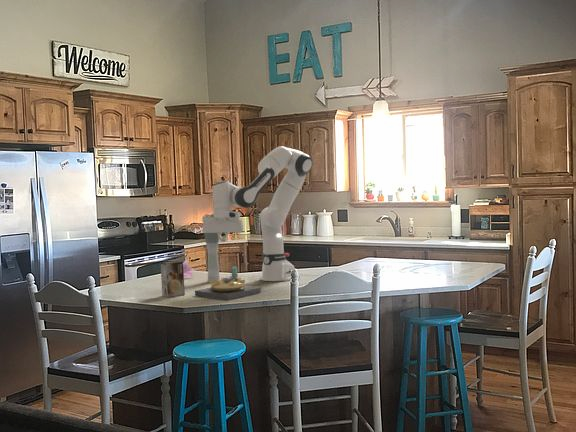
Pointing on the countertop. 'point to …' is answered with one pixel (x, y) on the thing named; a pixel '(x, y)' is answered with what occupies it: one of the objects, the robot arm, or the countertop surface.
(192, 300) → the countertop surface
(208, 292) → the dark grey square slab
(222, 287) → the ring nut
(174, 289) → the coffee box
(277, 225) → the robot arm
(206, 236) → the container
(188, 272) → the lily
